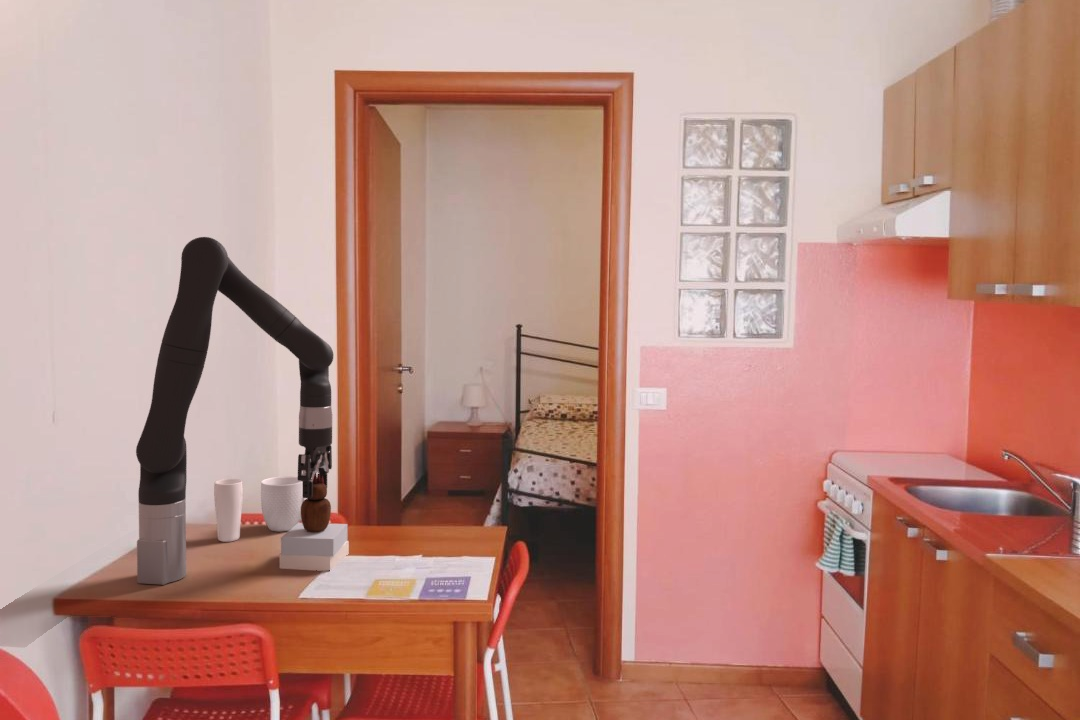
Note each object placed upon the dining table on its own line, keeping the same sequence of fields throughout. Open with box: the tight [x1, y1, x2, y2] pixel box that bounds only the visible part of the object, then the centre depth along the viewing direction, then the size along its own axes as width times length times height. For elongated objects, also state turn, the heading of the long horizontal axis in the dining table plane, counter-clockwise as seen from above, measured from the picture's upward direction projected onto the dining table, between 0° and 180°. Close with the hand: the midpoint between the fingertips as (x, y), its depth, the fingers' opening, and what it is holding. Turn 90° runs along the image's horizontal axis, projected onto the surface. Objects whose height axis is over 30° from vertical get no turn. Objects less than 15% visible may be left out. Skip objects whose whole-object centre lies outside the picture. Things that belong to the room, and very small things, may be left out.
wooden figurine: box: [301, 473, 332, 532], centre depth 180 cm, size 7×6×15 cm
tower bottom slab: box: [279, 540, 350, 572], centre depth 181 cm, size 12×12×4 cm
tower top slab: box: [280, 522, 348, 556], centre depth 180 cm, size 12×12×4 cm
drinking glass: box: [213, 478, 244, 543], centre depth 195 cm, size 7×7×15 cm
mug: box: [260, 476, 305, 533], centre depth 206 cm, size 15×11×13 cm
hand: (315, 493), depth 180 cm, fingers open, 8 cm apart
